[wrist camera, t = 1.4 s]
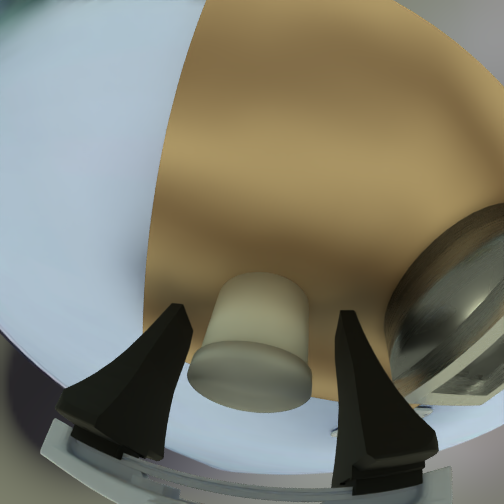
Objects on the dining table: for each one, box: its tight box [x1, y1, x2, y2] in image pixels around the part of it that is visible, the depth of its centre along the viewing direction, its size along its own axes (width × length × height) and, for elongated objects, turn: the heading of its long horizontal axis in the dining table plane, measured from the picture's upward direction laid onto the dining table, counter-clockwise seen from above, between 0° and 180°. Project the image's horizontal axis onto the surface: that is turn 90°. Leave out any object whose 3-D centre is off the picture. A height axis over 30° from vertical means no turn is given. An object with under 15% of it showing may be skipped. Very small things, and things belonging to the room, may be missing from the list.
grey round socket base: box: [384, 203, 504, 406], centre depth 9 cm, size 12×12×4 cm
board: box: [143, 0, 504, 409], centre depth 12 cm, size 22×24×1 cm
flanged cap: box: [187, 272, 313, 413], centre depth 11 cm, size 5×5×4 cm
